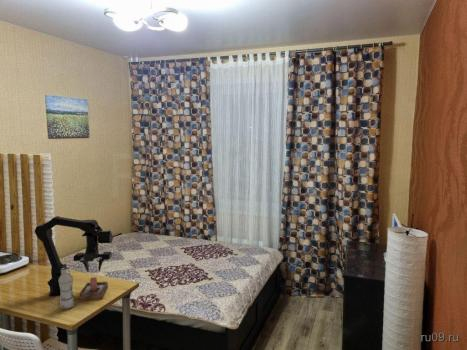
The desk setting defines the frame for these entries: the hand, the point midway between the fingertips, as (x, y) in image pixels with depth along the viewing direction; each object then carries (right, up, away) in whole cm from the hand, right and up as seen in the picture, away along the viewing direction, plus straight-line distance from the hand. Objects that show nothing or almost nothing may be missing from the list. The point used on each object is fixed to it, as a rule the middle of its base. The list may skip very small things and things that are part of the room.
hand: (93, 271), depth 185 cm
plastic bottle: (-7, -14, -16) cm, 22 cm away
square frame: (+1, -12, -1) cm, 12 cm away
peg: (+1, -12, -1) cm, 12 cm away
